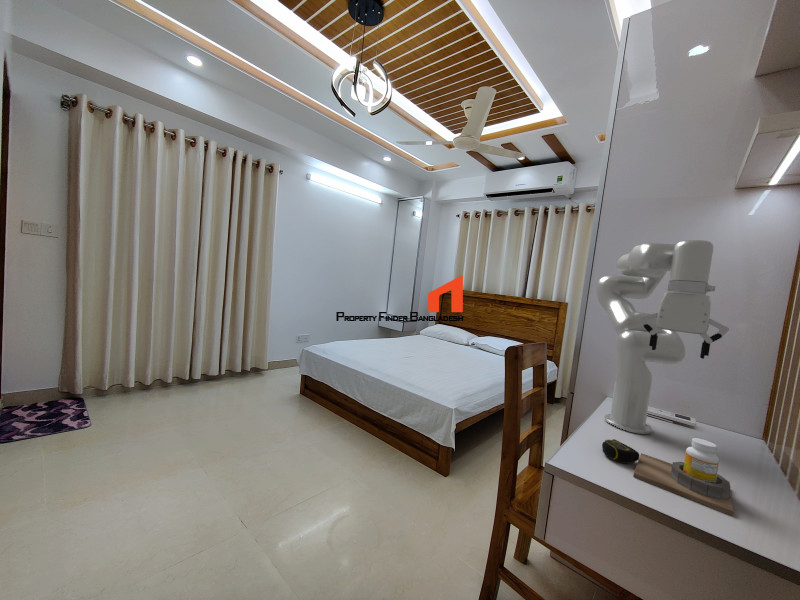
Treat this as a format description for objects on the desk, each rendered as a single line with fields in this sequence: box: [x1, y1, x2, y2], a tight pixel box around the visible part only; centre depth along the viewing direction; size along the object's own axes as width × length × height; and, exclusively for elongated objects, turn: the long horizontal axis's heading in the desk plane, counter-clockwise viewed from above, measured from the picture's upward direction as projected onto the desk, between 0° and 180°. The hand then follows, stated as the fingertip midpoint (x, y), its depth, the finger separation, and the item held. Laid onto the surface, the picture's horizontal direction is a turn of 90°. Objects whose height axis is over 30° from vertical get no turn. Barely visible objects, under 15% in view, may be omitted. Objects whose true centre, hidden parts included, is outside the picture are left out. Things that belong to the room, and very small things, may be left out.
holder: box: [633, 452, 734, 517], centre depth 73 cm, size 14×16×4 cm
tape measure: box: [601, 438, 640, 464], centre depth 81 cm, size 7×7×4 cm
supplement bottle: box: [683, 437, 720, 484], centre depth 71 cm, size 5×5×10 cm
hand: (676, 353), depth 83 cm, fingers open, 9 cm apart
